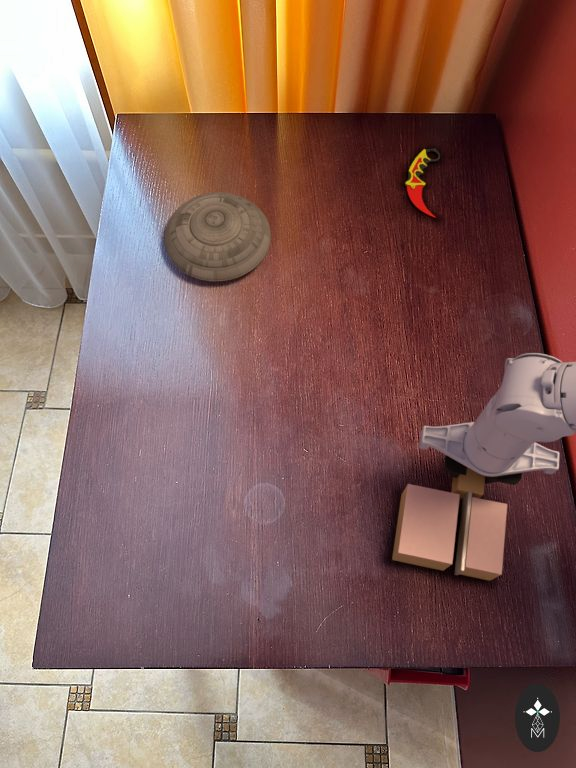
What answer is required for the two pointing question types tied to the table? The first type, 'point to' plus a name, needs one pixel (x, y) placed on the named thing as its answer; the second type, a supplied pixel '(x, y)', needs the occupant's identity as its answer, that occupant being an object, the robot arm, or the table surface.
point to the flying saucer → (217, 236)
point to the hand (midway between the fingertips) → (468, 472)
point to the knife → (415, 183)
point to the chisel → (466, 509)
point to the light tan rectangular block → (485, 539)
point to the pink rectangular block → (426, 527)
